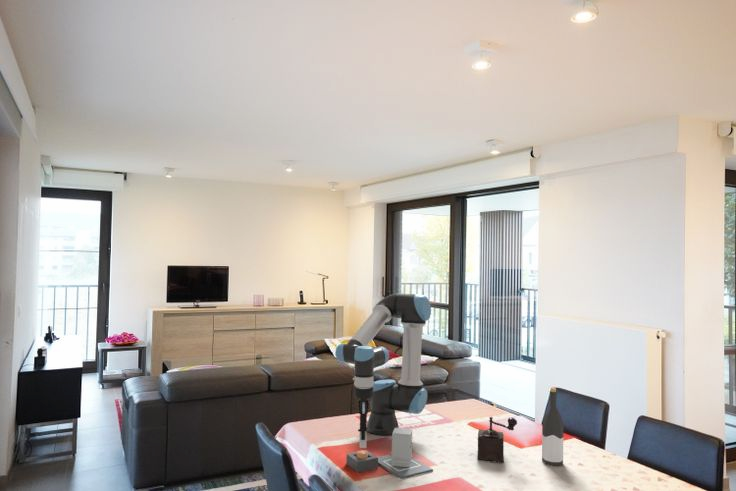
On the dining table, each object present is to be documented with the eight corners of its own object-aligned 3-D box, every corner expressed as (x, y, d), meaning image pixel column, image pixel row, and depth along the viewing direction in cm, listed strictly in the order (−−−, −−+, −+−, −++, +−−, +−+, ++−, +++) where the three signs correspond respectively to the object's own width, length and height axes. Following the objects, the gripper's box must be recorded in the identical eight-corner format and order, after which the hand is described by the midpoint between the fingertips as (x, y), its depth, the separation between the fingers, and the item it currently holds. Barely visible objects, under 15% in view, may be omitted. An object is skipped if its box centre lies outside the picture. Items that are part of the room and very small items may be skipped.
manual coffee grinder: (477, 461, 209) (477, 416, 209) (477, 451, 220) (478, 408, 220) (516, 465, 205) (517, 419, 206) (515, 455, 216) (516, 412, 216)
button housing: (346, 464, 203) (346, 453, 203) (366, 460, 208) (366, 449, 208) (357, 472, 195) (357, 461, 195) (377, 468, 200) (378, 457, 200)
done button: (354, 462, 202) (354, 451, 202) (364, 459, 204) (364, 449, 204) (360, 466, 198) (360, 455, 198) (369, 463, 201) (370, 453, 201)
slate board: (372, 460, 207) (372, 458, 207) (402, 453, 215) (402, 451, 215) (400, 479, 190) (400, 476, 190) (432, 471, 198) (432, 468, 198)
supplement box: (410, 467, 198) (410, 434, 199) (390, 465, 200) (391, 432, 200) (412, 460, 206) (412, 428, 206) (393, 458, 207) (394, 426, 207)
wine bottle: (562, 460, 212) (563, 386, 212) (563, 467, 204) (564, 391, 205) (542, 457, 214) (542, 384, 215) (541, 464, 207) (542, 389, 207)
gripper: (354, 382, 209) (353, 440, 208) (353, 390, 196) (353, 453, 195) (372, 382, 209) (372, 441, 208) (373, 391, 196) (372, 453, 195)
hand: (362, 447), depth 202 cm, fingers closed
